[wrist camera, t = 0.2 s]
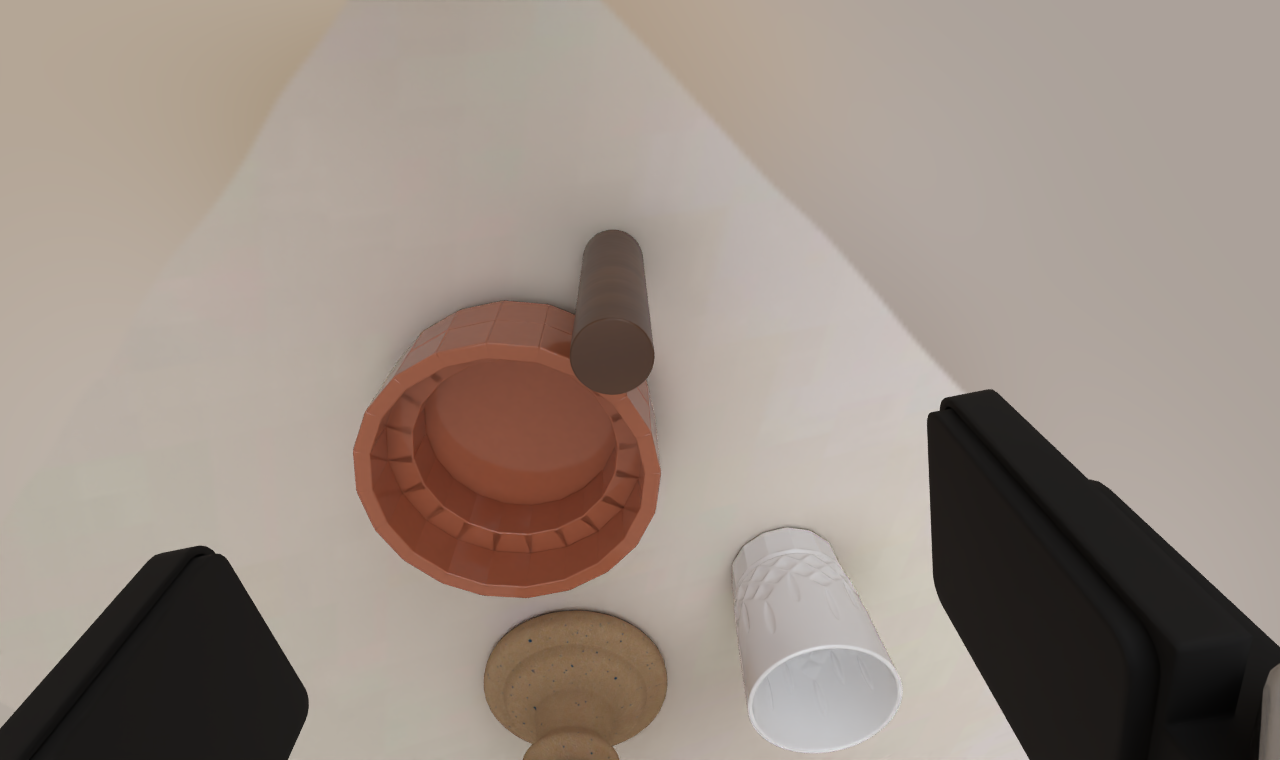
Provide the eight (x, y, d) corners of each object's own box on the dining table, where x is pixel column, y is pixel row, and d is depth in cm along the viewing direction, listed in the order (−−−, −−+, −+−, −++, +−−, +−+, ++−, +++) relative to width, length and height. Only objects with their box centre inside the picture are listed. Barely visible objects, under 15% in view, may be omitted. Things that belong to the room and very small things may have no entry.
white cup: (735, 626, 47) (763, 766, 38) (709, 534, 44) (733, 665, 35) (853, 600, 47) (909, 737, 38) (836, 505, 43) (894, 630, 34)
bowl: (348, 329, 37) (302, 380, 32) (622, 270, 36) (623, 313, 31) (440, 546, 44) (416, 619, 38) (675, 500, 43) (684, 569, 37)
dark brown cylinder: (576, 236, 35) (559, 328, 25) (635, 223, 35) (644, 310, 24) (591, 292, 37) (581, 402, 26) (648, 280, 36) (662, 386, 26)
